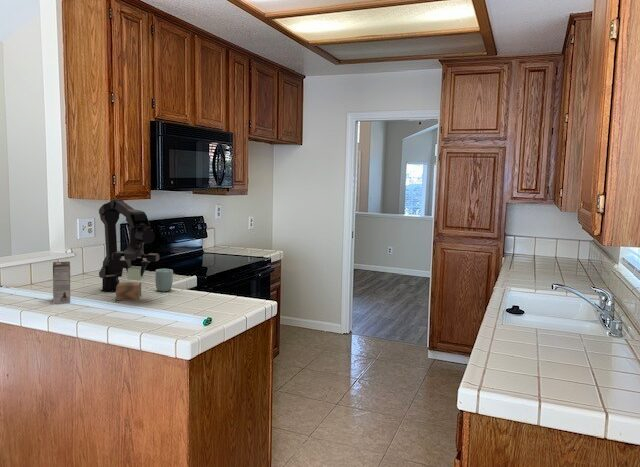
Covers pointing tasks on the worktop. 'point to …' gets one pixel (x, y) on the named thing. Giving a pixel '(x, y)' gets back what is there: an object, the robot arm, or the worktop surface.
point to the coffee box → (61, 282)
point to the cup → (164, 279)
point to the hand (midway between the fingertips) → (135, 275)
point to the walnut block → (128, 291)
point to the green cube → (134, 273)
